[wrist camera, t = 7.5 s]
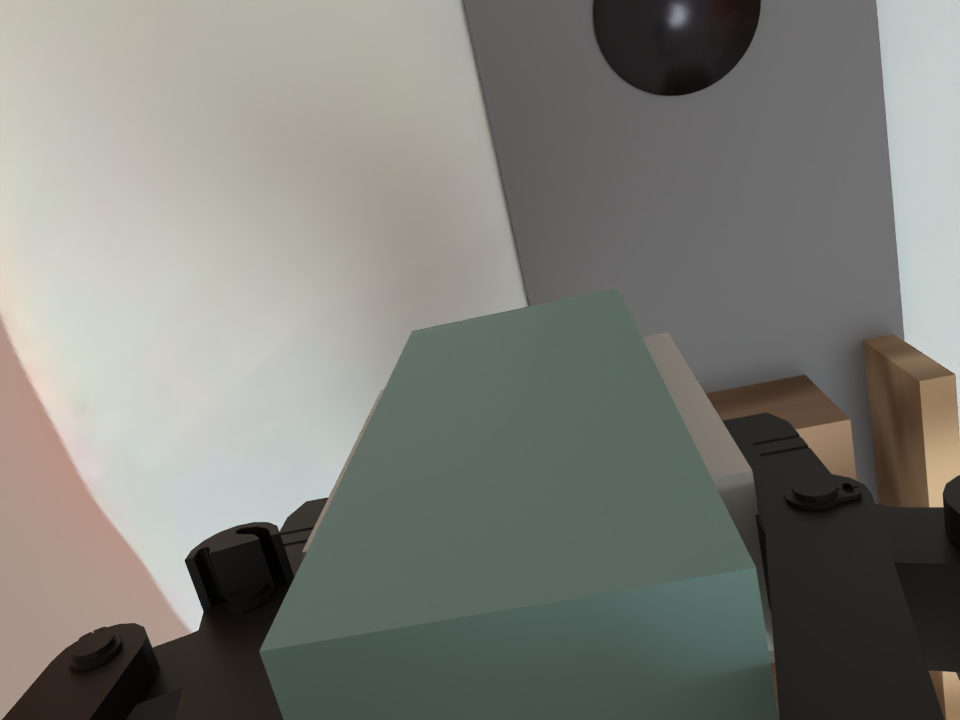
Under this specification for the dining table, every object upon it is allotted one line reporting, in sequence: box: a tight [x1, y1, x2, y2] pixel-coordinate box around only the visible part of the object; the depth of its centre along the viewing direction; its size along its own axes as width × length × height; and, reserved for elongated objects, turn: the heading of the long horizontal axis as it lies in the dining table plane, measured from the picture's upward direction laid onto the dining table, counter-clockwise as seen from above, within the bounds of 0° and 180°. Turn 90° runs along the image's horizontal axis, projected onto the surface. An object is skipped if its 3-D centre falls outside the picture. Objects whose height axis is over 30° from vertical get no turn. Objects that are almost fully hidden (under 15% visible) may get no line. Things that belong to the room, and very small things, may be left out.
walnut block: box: [706, 375, 857, 481], centre depth 33 cm, size 6×6×5 cm
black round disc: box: [593, 0, 761, 96], centre depth 30 cm, size 6×6×1 cm
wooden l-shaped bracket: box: [770, 334, 960, 720], centre depth 34 cm, size 16×13×6 cm
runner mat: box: [463, 0, 904, 663], centre depth 34 cm, size 34×14×1 cm, turn 13°
